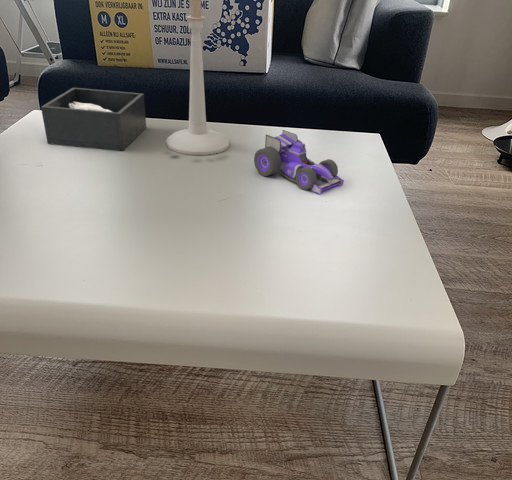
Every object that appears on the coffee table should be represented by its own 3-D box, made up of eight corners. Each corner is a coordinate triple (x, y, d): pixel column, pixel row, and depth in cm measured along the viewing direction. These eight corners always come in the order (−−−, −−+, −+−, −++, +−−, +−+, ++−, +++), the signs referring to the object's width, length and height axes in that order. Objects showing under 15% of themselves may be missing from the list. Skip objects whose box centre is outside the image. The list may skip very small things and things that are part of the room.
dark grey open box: (47, 143, 108) (40, 106, 104) (77, 121, 121) (72, 87, 116) (123, 151, 107) (119, 113, 103) (146, 127, 119) (143, 93, 115)
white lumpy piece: (73, 138, 112) (117, 130, 110) (63, 102, 110) (108, 94, 107) (84, 135, 117) (126, 128, 114) (74, 101, 114) (118, 93, 112)
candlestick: (233, 137, 117) (237, -31, 98) (222, 158, 107) (224, -26, 88) (175, 132, 118) (168, -36, 99) (158, 151, 108) (147, -31, 89)
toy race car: (315, 197, 94) (319, 159, 90) (252, 172, 102) (254, 136, 98) (347, 183, 99) (353, 148, 95) (286, 160, 107) (289, 126, 103)
